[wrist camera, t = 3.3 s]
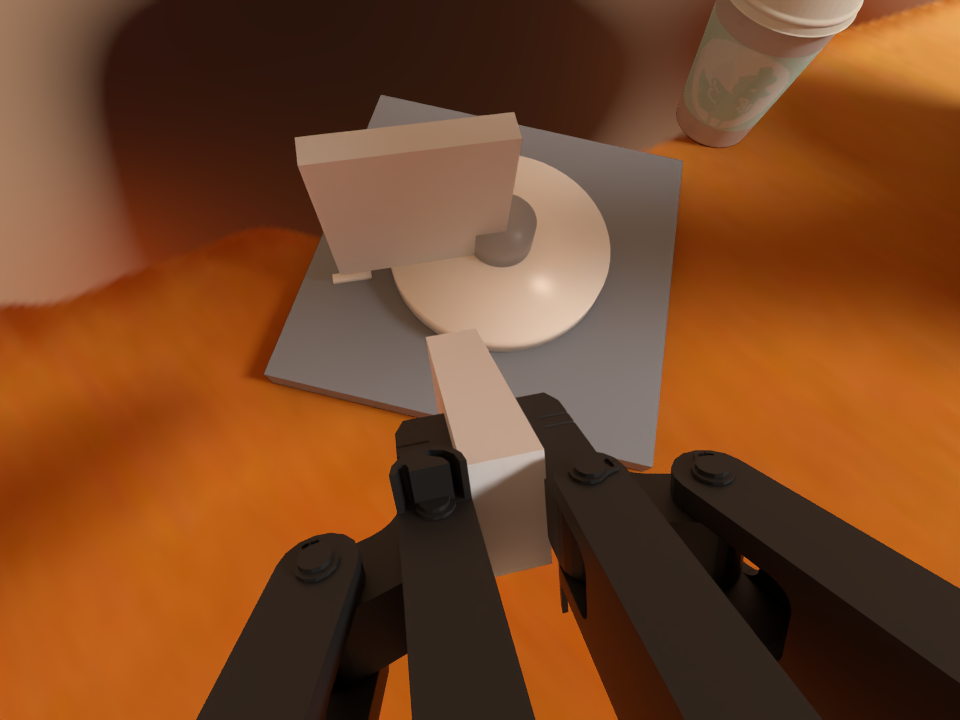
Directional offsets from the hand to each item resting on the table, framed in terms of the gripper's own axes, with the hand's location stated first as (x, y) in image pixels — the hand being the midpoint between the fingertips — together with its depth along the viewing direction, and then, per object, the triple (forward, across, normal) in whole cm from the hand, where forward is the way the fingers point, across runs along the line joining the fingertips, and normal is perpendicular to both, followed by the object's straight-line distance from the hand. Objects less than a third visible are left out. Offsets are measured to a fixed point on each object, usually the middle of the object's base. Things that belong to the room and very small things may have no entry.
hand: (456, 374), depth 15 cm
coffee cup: (+27, +26, +5) cm, 38 cm away
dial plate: (+20, +6, -2) cm, 21 cm away
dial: (+19, +4, -1) cm, 19 cm away
